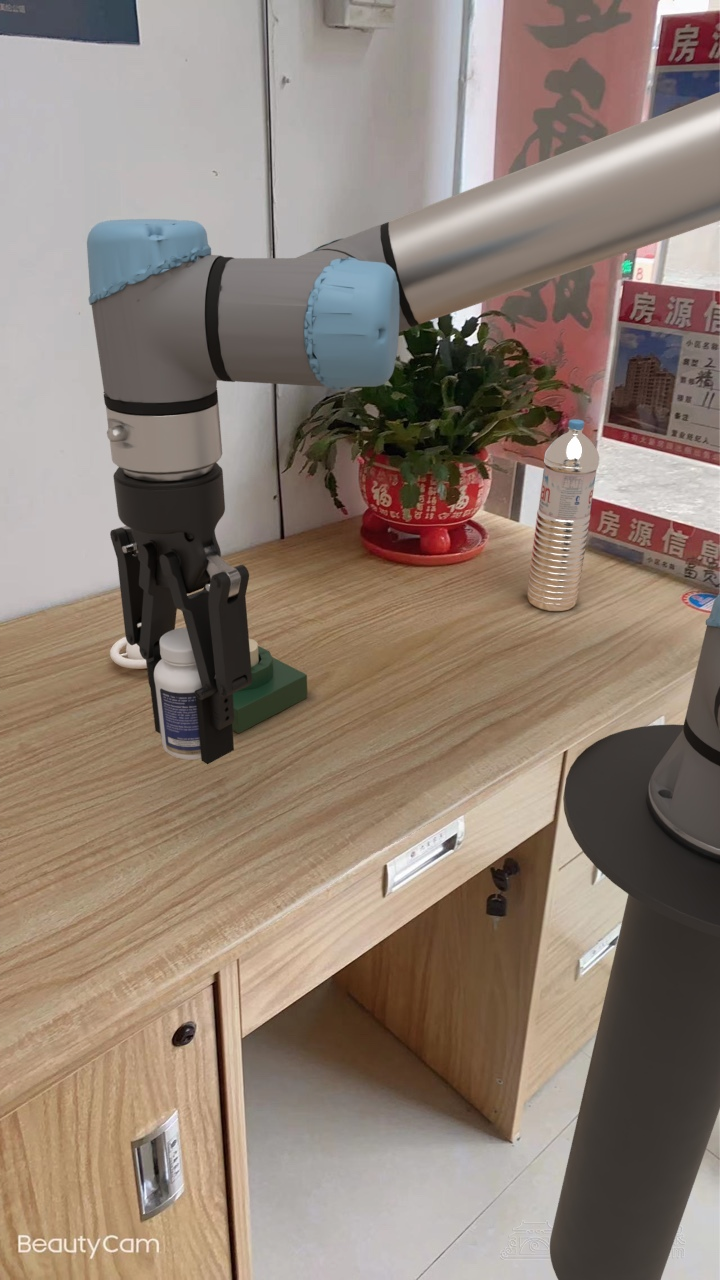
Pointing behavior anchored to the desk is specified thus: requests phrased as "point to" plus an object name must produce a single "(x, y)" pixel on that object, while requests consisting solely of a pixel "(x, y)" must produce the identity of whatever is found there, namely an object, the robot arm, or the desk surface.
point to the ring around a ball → (128, 654)
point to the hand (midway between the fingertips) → (194, 739)
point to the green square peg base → (267, 691)
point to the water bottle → (562, 520)
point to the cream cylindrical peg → (253, 652)
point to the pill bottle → (178, 695)
